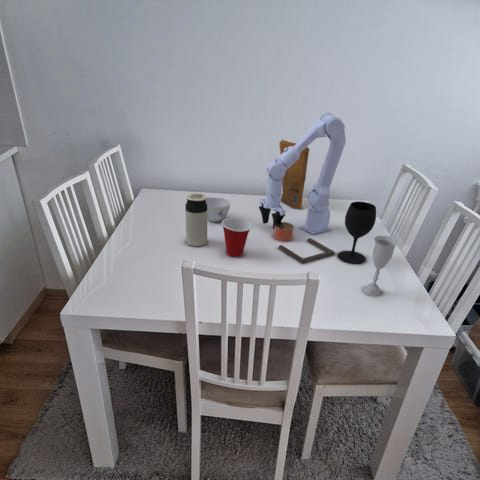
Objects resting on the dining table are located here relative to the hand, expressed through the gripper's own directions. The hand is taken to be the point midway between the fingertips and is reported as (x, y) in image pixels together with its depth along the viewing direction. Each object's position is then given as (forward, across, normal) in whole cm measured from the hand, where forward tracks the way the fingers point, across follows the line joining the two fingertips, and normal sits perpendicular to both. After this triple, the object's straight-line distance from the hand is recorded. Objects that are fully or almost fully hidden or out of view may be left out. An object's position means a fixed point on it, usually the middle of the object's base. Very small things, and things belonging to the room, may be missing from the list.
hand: (270, 226), depth 173 cm
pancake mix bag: (+2, -21, +27) cm, 35 cm away
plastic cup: (+2, +12, -25) cm, 28 cm away
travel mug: (+2, -3, -33) cm, 33 cm away
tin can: (+2, +9, 0) cm, 9 cm away
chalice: (+2, +56, 0) cm, 56 cm away
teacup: (+2, -21, -15) cm, 26 cm away
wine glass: (+2, +35, +12) cm, 37 cm away
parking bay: (+2, +22, 0) cm, 22 cm away
